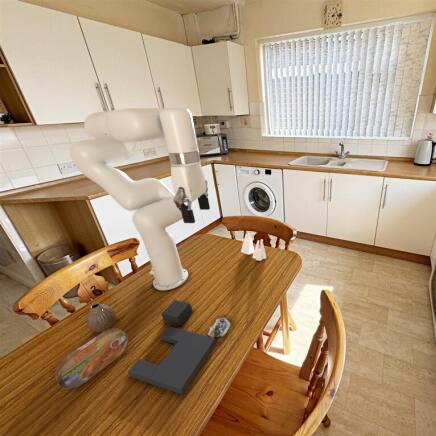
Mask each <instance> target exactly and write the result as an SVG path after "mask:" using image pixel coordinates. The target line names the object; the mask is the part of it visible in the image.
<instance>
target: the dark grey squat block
mask: <svg viewBox="0 0 436 436" xmlns="http://www.w3.org/2000/svg"><path fill="white" fill-rule="evenodd" d="M192 314H193V309H192V305H191V303H190V302H186V301H182V300H177V299H174V300H173V301H172V302H171V303H170V304H169V305H168V306H166V308H165V309H164V310H163V311H162V312H161V318H162V320H163V323H164V324H167V325H172V326H175V327H182V325H184V323H185V322H186V321H187V319H189V318H190V316H191V315H192Z"/></svg>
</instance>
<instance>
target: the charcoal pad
mask: <svg viewBox="0 0 436 436" xmlns="http://www.w3.org/2000/svg"><path fill="white" fill-rule="evenodd" d="M159 337H160V340H161V341H163V342H165V343H170V344H172V345H174V346H173V348H172V349H171V350H170V351H169V353H168V354H167V355H166V356H165V357H164V359H163V360H162V361H161V362H160V363H159V364H156V363H153V362H149V361H146V360H144V359H140V358H138V359H137V360H136V361H135V363H134V364H132V366H130V368H129V369H128V370H127V374H128V375H129V377H131V378H133V379H137V380H139V381H142V382H145V383H147V384H151V385H153V386H156V387H160V388H161V389H165V390H168V391H170V392H173V393H177V394H179V395H181V396H182V395H184V393H185V392H186V391H187V389H188V388H189V386H190V384H191V383H192V381H193V379H194V378H195V376H196V375H197V373H198V372H199V370H200V369H201V367H202V366H203V364H204V363H205V361H206V359H207V358H208V357H209V355H210V353H211V352H212V350H213V349H214V348H215V345H216V344H217V342H216V341H217V340H216V337H214V338H212V336H211V337H210V336H208V335H204V334H199V333H196V332H191V331H188V330H184V329H181V328H177V327H173V326H170V325H169V326H166V328H165V329H164V330H163V332H162V333H161V334H160V335H159Z"/></svg>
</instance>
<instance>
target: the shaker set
mask: <svg viewBox="0 0 436 436" xmlns="http://www.w3.org/2000/svg"><path fill="white" fill-rule="evenodd" d="M241 245H242V246H241V249H240V252H241V253H243V254H245V255H249V256H250V255H252V259H255V261H262V260H266V259H267V254H266V249H265V244H264V242H263V240H262V239H260V240H259V239H258V240H257V242H256V244H255V245H254V243H253V239H252V235H251V233H246V234H245V236H244V238H243V241H242V244H241Z"/></svg>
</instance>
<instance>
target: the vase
mask: <svg viewBox="0 0 436 436" xmlns="http://www.w3.org/2000/svg"><path fill="white" fill-rule="evenodd" d="M85 319H86V325H87V327H88V328H89V330H91V331H93V332H94V333H102V332H104V331H106V330H109V329H112V327H113V326H114V325H115V323H116V320H117V314H116V312H115V309H114V308H113V307H111V306H110V305H107V304H102V303H100V302H95V303H93V304H92V305H90V307H89V311H88V313H87V315H86V318H85Z"/></svg>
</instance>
